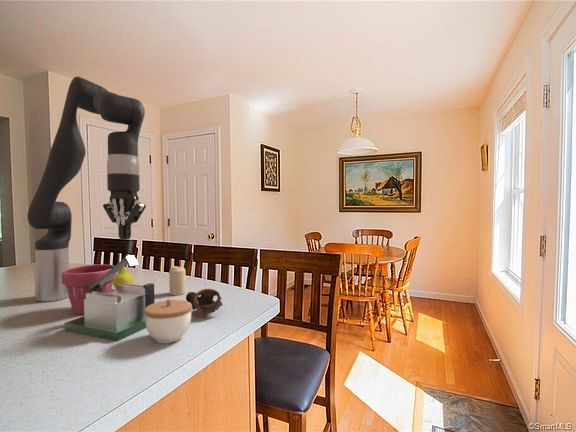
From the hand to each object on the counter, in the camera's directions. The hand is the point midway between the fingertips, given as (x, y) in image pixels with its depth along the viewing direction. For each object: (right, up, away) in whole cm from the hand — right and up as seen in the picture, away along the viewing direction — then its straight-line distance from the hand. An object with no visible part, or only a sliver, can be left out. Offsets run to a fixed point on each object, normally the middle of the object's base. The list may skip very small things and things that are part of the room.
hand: (124, 239), depth 84 cm
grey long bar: (-3, -11, +2) cm, 12 cm away
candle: (+3, -22, +32) cm, 39 cm away
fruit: (-19, -22, +36) cm, 46 cm away
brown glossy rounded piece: (+18, -23, +11) cm, 31 cm away
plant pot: (-18, -23, +14) cm, 32 cm away
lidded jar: (+14, -24, -7) cm, 29 cm away
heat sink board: (-3, -23, +2) cm, 23 cm away
